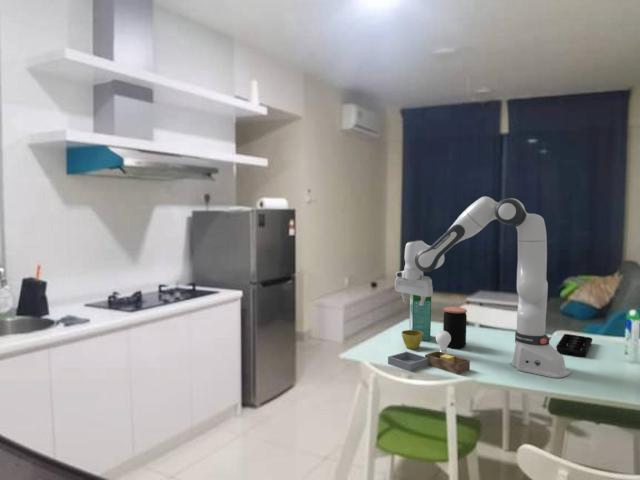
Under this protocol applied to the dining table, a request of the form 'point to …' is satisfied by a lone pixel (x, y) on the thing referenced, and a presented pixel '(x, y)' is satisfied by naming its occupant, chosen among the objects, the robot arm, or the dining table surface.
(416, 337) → the flower pot
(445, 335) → the light bulb
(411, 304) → the milk carton
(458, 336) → the coffee jar
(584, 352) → the egg carton
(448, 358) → the block
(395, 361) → the tub
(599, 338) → the dining table surface
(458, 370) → the box
